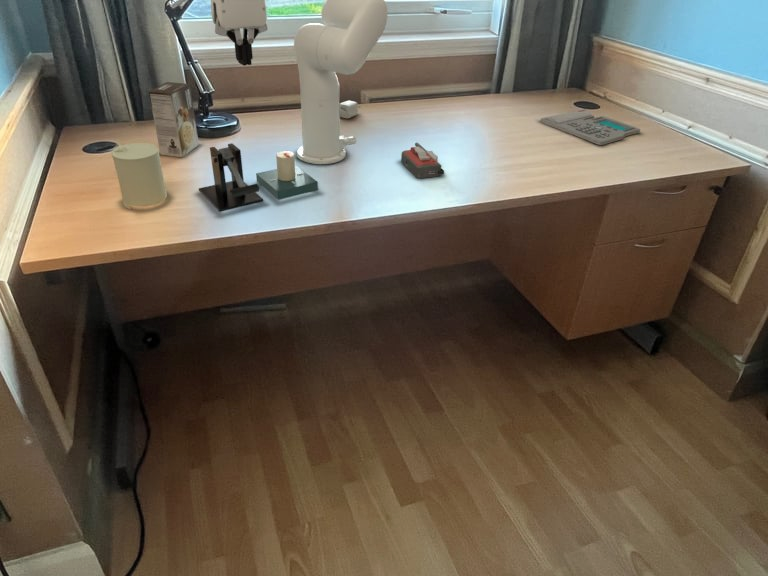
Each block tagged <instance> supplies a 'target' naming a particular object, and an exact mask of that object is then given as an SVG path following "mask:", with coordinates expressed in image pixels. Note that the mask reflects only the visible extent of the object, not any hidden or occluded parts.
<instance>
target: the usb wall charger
mask: <svg viewBox="0 0 768 576" xmlns="http://www.w3.org/2000/svg"><path fill="white" fill-rule="evenodd" d="M360 108H361V106H360V105H359V104H358V102H357V101H353V100H350V99H349V100H346V101H343V102H339V110H340V118H343V119H350V118H353V117H356V116H358V114H359V113H358V109H360Z"/></svg>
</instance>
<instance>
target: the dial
mask: <svg viewBox="0 0 768 576" xmlns="http://www.w3.org/2000/svg"><path fill="white" fill-rule="evenodd" d="M295 159H296V157H295V153H294V152H293V151H289V150H281V151H278V152H276V154H275V160H276V169H277V175H278V179H279V180H282V181H290V180H293V179H295V165H296V160H295Z"/></svg>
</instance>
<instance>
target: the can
mask: <svg viewBox="0 0 768 576" xmlns="http://www.w3.org/2000/svg"><path fill="white" fill-rule="evenodd" d="M111 157H112V159H113V164H114V167H115V171H116V172H115V173H116V175H117V180H118V183H119V188H120V193H121V197H122V205H123V206H124V208H126V209H128V210H131V211H132V210H133V209H132V207H136V208H137V207H139V208H141V207H143V208H144V207H150V206H154V205H158V204H160V203H162V202H164V201H165V200H166V199H167V197H168V194H167V189H166V185H165V180H164V174H163V168H162V164H161V157H160V148H159V146H158V145H156V144H153V143H149V142H130V143H125V144H122V145H119V146H117V147H115V148H113V149H112V151H111Z"/></svg>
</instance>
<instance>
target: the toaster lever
mask: <svg viewBox="0 0 768 576" xmlns="http://www.w3.org/2000/svg"><path fill="white" fill-rule="evenodd" d="M218 151H220V152H221V153H222V157H223V165H224V167H227V168H228V170H229V173H230V175H231V174H232V175H231V177H232V176H233V177H234V179H235V181H236V183H237V185H238V187H239V188H235V189H231V190H230V192H229V194H230V196H231V198H233V197H237V196H241V195H246V194H250V193H254V192H256V193H258V192H260V186H259V184H258V183H254V184H250V185H248V186H245V184H244V182H245V181H244V182H243V180H242V178H241V177H240V175H239V173H238V171H237V169H236V167H235V166H234V164H233V161H234V156H233V154H232V152H231V150H230V149H229V147H228V146H227V147H222V148H218Z"/></svg>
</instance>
